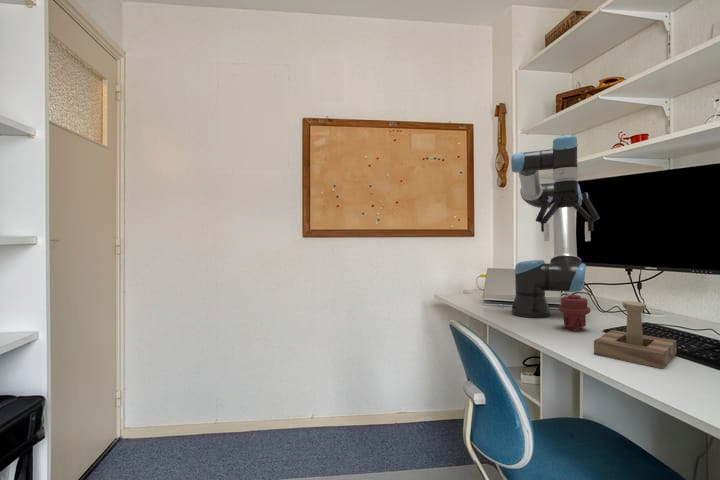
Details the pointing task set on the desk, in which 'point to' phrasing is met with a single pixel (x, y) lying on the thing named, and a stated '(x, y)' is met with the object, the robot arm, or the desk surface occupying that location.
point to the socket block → (636, 349)
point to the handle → (634, 322)
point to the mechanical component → (574, 311)
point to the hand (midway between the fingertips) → (566, 241)
